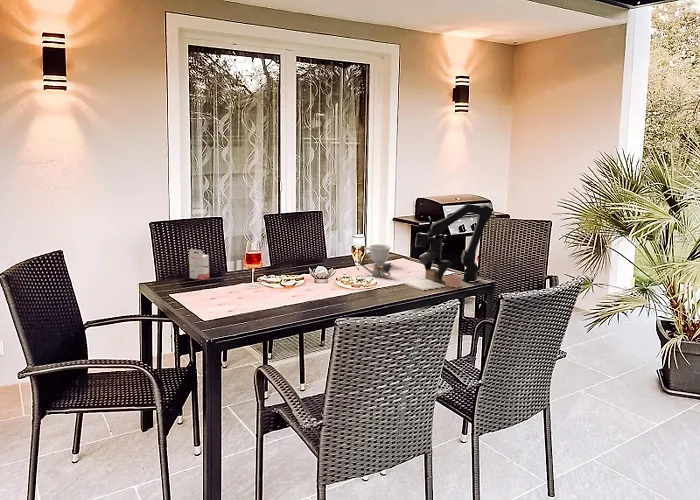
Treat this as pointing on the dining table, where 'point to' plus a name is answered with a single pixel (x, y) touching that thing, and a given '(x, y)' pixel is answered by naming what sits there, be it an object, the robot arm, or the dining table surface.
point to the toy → (379, 269)
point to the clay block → (452, 280)
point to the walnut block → (432, 274)
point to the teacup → (379, 253)
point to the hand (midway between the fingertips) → (433, 277)
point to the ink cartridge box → (198, 265)
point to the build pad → (424, 284)
